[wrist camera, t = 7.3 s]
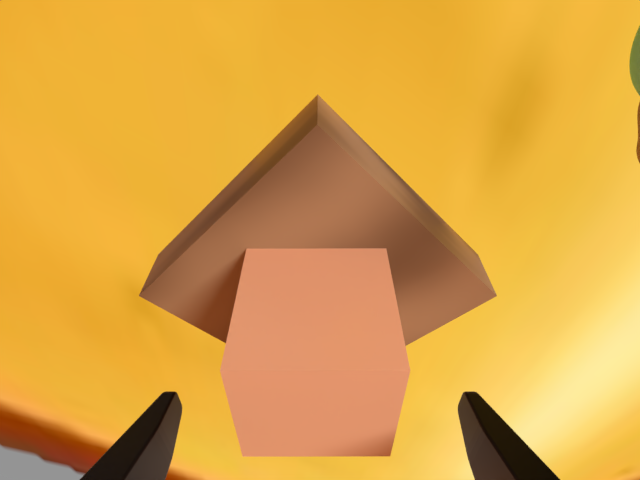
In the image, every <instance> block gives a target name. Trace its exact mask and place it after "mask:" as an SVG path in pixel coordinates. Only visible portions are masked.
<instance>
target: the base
mask: <svg viewBox="0 0 640 480" xmlns="http://www.w3.org/2000/svg"><path fill="white" fill-rule="evenodd" d="M324 248H386V249H387V255H388V260H389V265H390V270H391V275H392V280H393V285H394V290H395V295H396V300H397V305H398V310H399V315H400V320H401V326H402V331H403V336H404V341H405V346H407V345H408V344H410V343H412V342H414V341H416V340H418V339H419V338H421V337H423V336H425V335H427V334H428V333H430V332H432V331H434V330H436V329H438V328H439V327H441V326H443V325H445V324H447V323H449V322H450V321H452V320H454V319H456V318H458V317H460V316H461V315H463V314H465V313H467V312H469V311H470V310H472V309H474V308H476V307H478V306H480V305H481V304H483V303H485V302H487V301H489V300H491V299H492V298H494V297H496V296H497V295H496V292H495V290H494V288H493V286H492V284H491V282H490V279H489V277H488V275H487V273H486V271H485V269H484V266H483V264H482V262H481V260H480V258H479V256H478V254H477V253H476V252H475V251H474V250H473V249H472V248H471V247H470V246H469V245H468V244H467V243H466V242H465V241H464V240H463V239H462V238H461V237H460V236H459V235H458V234H457V233H456V232H455V231H454V230H453V229H452V228H451V227H450V226H449V225H448V224H447V223H446V222H445V221H444V220H443V219H442V218H441V217H440V216H439V215H438V214H437V213H436V212H435V211H434V210H433V209H432V208H431V207H430V206H429V205H428V204H427V203H426V202H425V201H424V200H423V199H422V198H421V197H420V196H419V195H418V194H417V193H416V192H415V191H414V190H413V189H412V188H411V187H410V186H409V185H408V184H407V183H406V182H405V181H404V180H403V179H402V178H401V177H400V176H399V175H398V174H397V173H396V172H395V171H394V170H393V169H392V168H391V167H390V166H389V165H388V164H387V163H386V162H385V161H384V160H383V159H382V158H381V157H380V156H379V155H378V154H377V153H376V152H375V151H374V150H373V149H372V148H371V147H370V146H369V145H368V144H367V143H366V142H365V141H364V140H363V139H362V138H361V137H360V136H359V135H358V134H357V133H356V132H355V131H354V130H353V129H352V128H351V127H350V126H349V125H348V124H347V123H346V122H345V121H344V120H343V119H342V118H341V117H340V116H339V115H338V114H337V113H336V112H335V111H334V110H333V109H332V108H331V107H330V106H329V105H328V104H327V103H326V102H325V101H324V100H323V99H322V98H321V97H320V96H319V95H317V96H316V97H315V98H314V99H313V100H312V101H311V102H310V103H309V104H308V105H307V106H306V107H305V108H304V109H303V110H302V111H301V112H300V113H299V114H298V115H297V116H296V117H295V118H294V119H293V120H292V121H291V122H290V123H289V124H288V125H287V126H286V127H285V128H284V129H283V130H282V131H281V132H280V133H279V134H278V135H277V136H276V137H275V138H274V139H273V140H272V141H271V142H270V143H269V144H268V145H267V146H266V147H265V148H264V149H263V150H262V151H261V152H260V153H259V154H258V155H257V156H256V157H255V158H254V159H253V160H252V161H251V162H250V163H249V164H248V165H247V166H246V167H245V168H244V169H243V170H242V171H241V172H240V173H239V174H238V175H237V176H236V177H235V178H234V179H233V180H232V181H231V182H230V183H229V184H228V185H227V186H226V187H225V188H224V189H223V190H222V191H221V192H220V193H219V194H218V195H217V196H216V197H215V198H214V199H213V200H212V201H211V202H210V203H209V204H208V205H207V206H206V207H205V208H204V209H203V210H202V211H201V212H200V213H199V214H198V215H197V216H196V217H195V218H194V219H193V220H192V221H191V222H190V223H189V224H188V225H187V226H186V227H185V228H184V229H183V230H182V231H181V232H180V233H179V234H178V235H177V236H176V237H175V238H174V239H173V240H172V241H171V242H170V243H169V244H168V245H167V246H166V247H165V248H164V249H163V250H162V251H161V252H160V253H159V254H158V256H157V258H156V260H155V262H154V264H153V267H152V269H151V271H150V273H149V275H148V277H147V279H146V281H145V284H144V286H143V288H142V290H141V292H140V294H139V296H140V297H142V298H143V299H145V300H147V301H149V302H151V303H153V304H154V305H156V306H158V307H160V308H162V309H164V310H165V311H167V312H169V313H171V314H173V315H175V316H177V317H178V318H180V319H182V320H184V321H186V322H188V323H189V324H191V325H193V326H195V327H197V328H199V329H200V330H202V331H204V332H206V333H208V334H210V335H211V336H213V337H215V338H217V339H219V340H221V341H222V342H224V343H226V341H227V336H228V331H229V327H230V322H231V318H232V313H233V308H234V304H235V299H236V294H237V290H238V285H239V281H240V276H241V271H242V267H243V262H244V258H245V253H246V249H324Z"/></svg>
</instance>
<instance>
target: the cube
mask: <svg viewBox="0 0 640 480" xmlns="http://www.w3.org/2000/svg"><path fill="white" fill-rule="evenodd" d="M220 373H221V377H222V380H223V384H224V388H225V392H226V396H227V399H228V403H229V407H230V411H231V414H232V418H233V422H234V426H235V430H236V433H237V437H238V441H239V445H240V449H241V452H242V456H243V457H316V456H390V455H391V451H392V447H393V443H394V438H395V434H396V430H397V425H398V421H399V417H400V413H401V408H402V404H403V400H404V396H405V391H406V387H407V383H408V379H409V374H410V366H409V361H408V356H407V351H406V346H405V341H404V336H403V331H402V326H401V320H400V315H399V310H398V305H397V300H396V295H395V290H394V285H393V280H392V275H391V270H390V265H389V260H388V255H387V249H386V248H324V249H246V253H245V258H244V262H243V267H242V271H241V276H240V281H239V285H238V290H237V294H236V299H235V304H234V308H233V313H232V318H231V322H230V327H229V331H228V336H227V341H226V345H225V350H224V355H223V359H222V364H221V368H220Z"/></svg>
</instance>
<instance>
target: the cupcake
mask: <svg viewBox="0 0 640 480" xmlns="http://www.w3.org/2000/svg"><path fill="white" fill-rule="evenodd" d="M629 67H630V76H631V80H632V83H633V86H634V88H635V90H636V91H637V93H638V94H639V96H640V26H639V28H638V30H637V33H636V35H635V38H634V41H633V44H632V48H631V53H630V63H629ZM637 123H638V141H637V147H636V153H637V158H638V161H639V163H640V102H639V106H638V112H637Z"/></svg>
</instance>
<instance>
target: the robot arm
mask: <svg viewBox="0 0 640 480" xmlns="http://www.w3.org/2000/svg"><path fill="white" fill-rule="evenodd" d="M181 415H182V404H181V401H180V399H179V396H178V394H177V392H175V391H166V392H163V393H162V394H161V395H160V396H159V397H158V398H157V399H156V400H155V401H154V402H153V403H152V404H151V405H150V406H149V407H148V408H147V409H146V410H145V412H144V413H143V414H142V415H141V416H140V417H139V418H138V419H137V420H136V421H135V422H134V423H133V424H132V425H131V426H130V427H129V428H128V429H127V430H126V431H125V432H124V434H123V435H122V436H121V437H120V438H119V439H118V440H117V441H116V442H115V443H114V444H113V445H112V446H111V447H110V448H109V449H108V450H107V451H106V452H105V453H104V455H103V456H102V457H101V458H100V459H99V460H98V461H97V462H96V463H95V464H94V465H93V466H92V467H91V468H90V469H89V470H88V471H87V472H86V473H85V474H84V475H83V477H82V478H81V479H80V480H165V479H166V476H167V473H168V470H169V467H170V464H171V460H172V457H173V453H174V448H175V443H176V439H177V434H178V429H179V425H180V420H181ZM458 415H459V420H460V425H461V429H462V434H463V439H464V443H465V448H466V453H467V457H468V460H469V464H470V467H471V470H472V473H473V476H474V479H475V480H560V479H559V478H558V477H557V475H556V474H555V473H554V472H553V471H552V470H551V469H550V468H549V467H548V466H547V465H546V464H545V463H544V462H543V461H542V460H541V459H540V458H539V457H538V456H537V455H536V453H535V452H534V451H533V450H532V449H531V448H530V447H529V446H528V445H527V444H526V443H525V442H524V441H523V440H522V439H521V438H520V437H519V436H518V435H517V434H516V432H515V431H514V430H513V429H512V428H511V427H510V426H509V425H508V424H507V423H506V422H505V421H504V420H503V419H502V418H501V417H500V416H499V415H498V414H497V413H496V411H495V410H494V409H493V408H492V407H491V406H490V405H489V404H488V403H487V402H486V401H485V400H484V399H483V398H482V397H481V396H480V395H479V394H478V393H477V392H474V391H465V392H463V394H462V396H461V399H460V401H459V404H458Z"/></svg>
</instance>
